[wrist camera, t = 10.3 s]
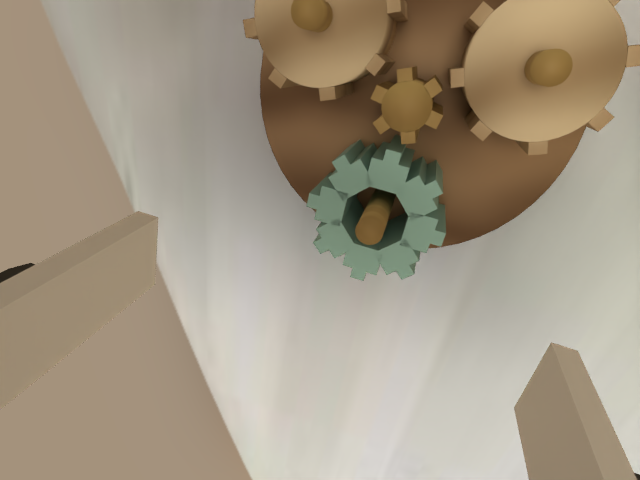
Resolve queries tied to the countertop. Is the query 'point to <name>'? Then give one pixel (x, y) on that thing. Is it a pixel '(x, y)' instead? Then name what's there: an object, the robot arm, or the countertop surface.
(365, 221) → the carrier
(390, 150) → the gear
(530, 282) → the countertop surface
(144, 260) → the robot arm
